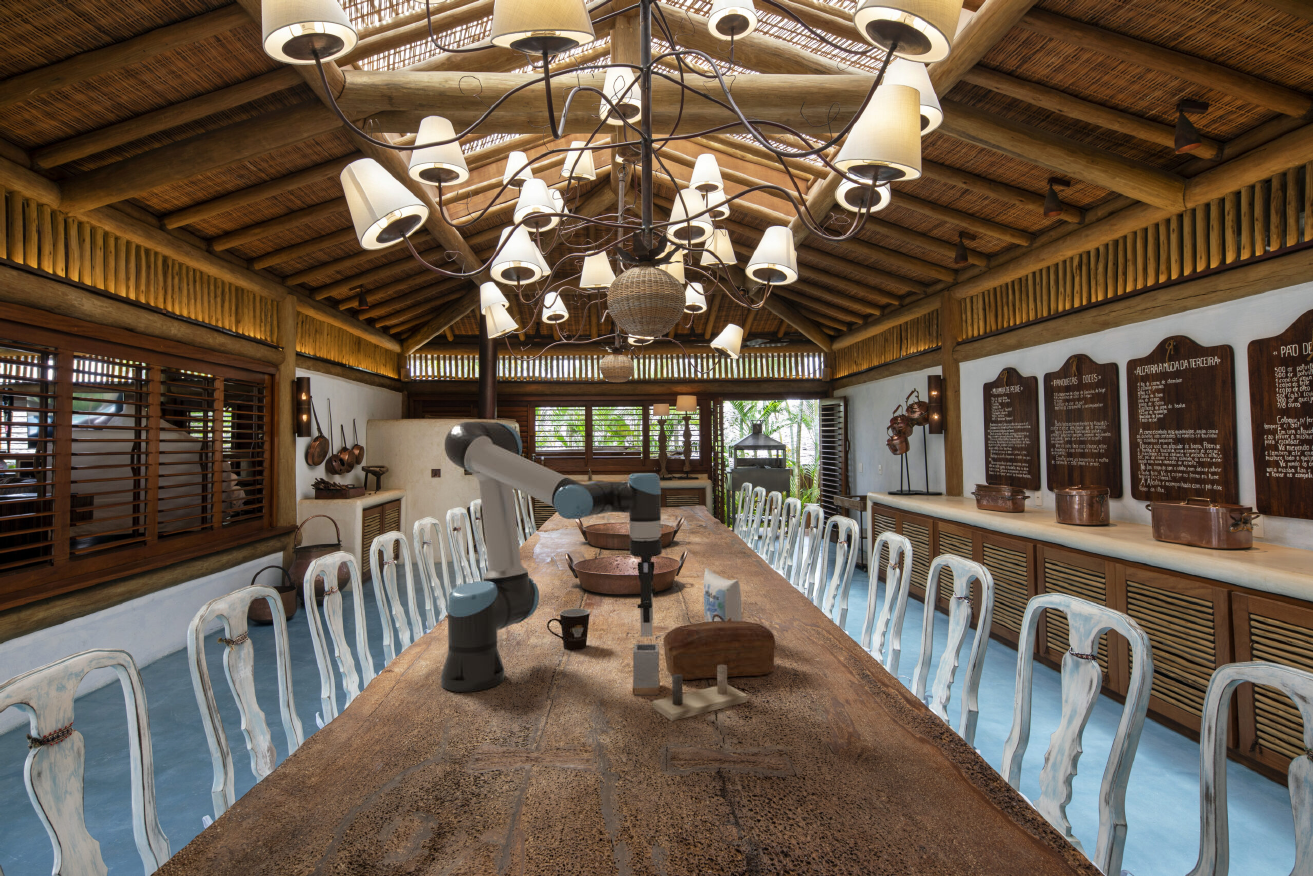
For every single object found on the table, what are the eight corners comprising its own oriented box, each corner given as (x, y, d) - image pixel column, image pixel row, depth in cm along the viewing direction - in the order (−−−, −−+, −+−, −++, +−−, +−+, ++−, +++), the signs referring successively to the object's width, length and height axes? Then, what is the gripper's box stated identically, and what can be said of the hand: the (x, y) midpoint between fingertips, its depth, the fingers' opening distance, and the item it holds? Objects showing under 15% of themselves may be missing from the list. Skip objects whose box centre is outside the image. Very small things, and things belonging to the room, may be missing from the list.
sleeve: (660, 694, 152) (659, 651, 152) (632, 695, 152) (632, 651, 152) (659, 684, 158) (659, 643, 158) (633, 684, 158) (633, 643, 158)
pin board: (671, 721, 137) (671, 685, 137) (652, 707, 144) (652, 673, 144) (747, 701, 147) (746, 668, 147) (726, 690, 154) (725, 658, 154)
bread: (781, 678, 162) (781, 629, 162) (670, 685, 158) (669, 635, 158) (763, 660, 176) (763, 614, 176) (660, 666, 171) (660, 619, 172)
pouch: (720, 631, 203) (720, 566, 203) (749, 649, 185) (749, 578, 185) (697, 633, 200) (696, 568, 201) (724, 652, 183) (723, 580, 183)
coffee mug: (592, 642, 192) (592, 608, 192) (586, 652, 183) (586, 616, 183) (553, 642, 193) (553, 608, 193) (546, 651, 184) (545, 615, 184)
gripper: (661, 545, 143) (663, 643, 142) (661, 531, 168) (662, 614, 167) (627, 546, 143) (629, 644, 142) (631, 531, 168) (633, 614, 167)
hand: (647, 628), depth 155 cm, fingers open, 13 cm apart
